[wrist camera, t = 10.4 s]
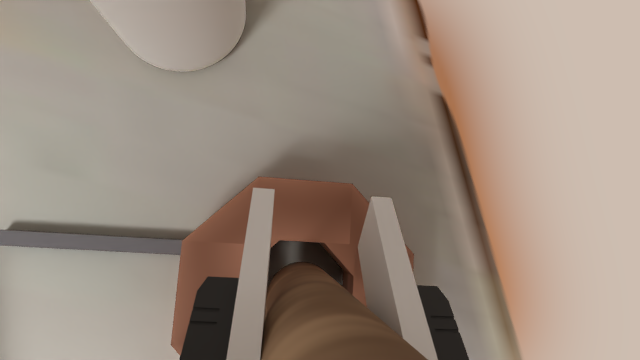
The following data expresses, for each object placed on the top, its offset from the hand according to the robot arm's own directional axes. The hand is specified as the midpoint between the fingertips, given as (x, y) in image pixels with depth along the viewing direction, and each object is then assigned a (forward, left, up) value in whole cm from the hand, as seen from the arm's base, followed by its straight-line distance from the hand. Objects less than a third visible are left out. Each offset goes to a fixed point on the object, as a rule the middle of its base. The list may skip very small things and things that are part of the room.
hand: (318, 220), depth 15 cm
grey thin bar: (-11, -2, -9) cm, 14 cm away
